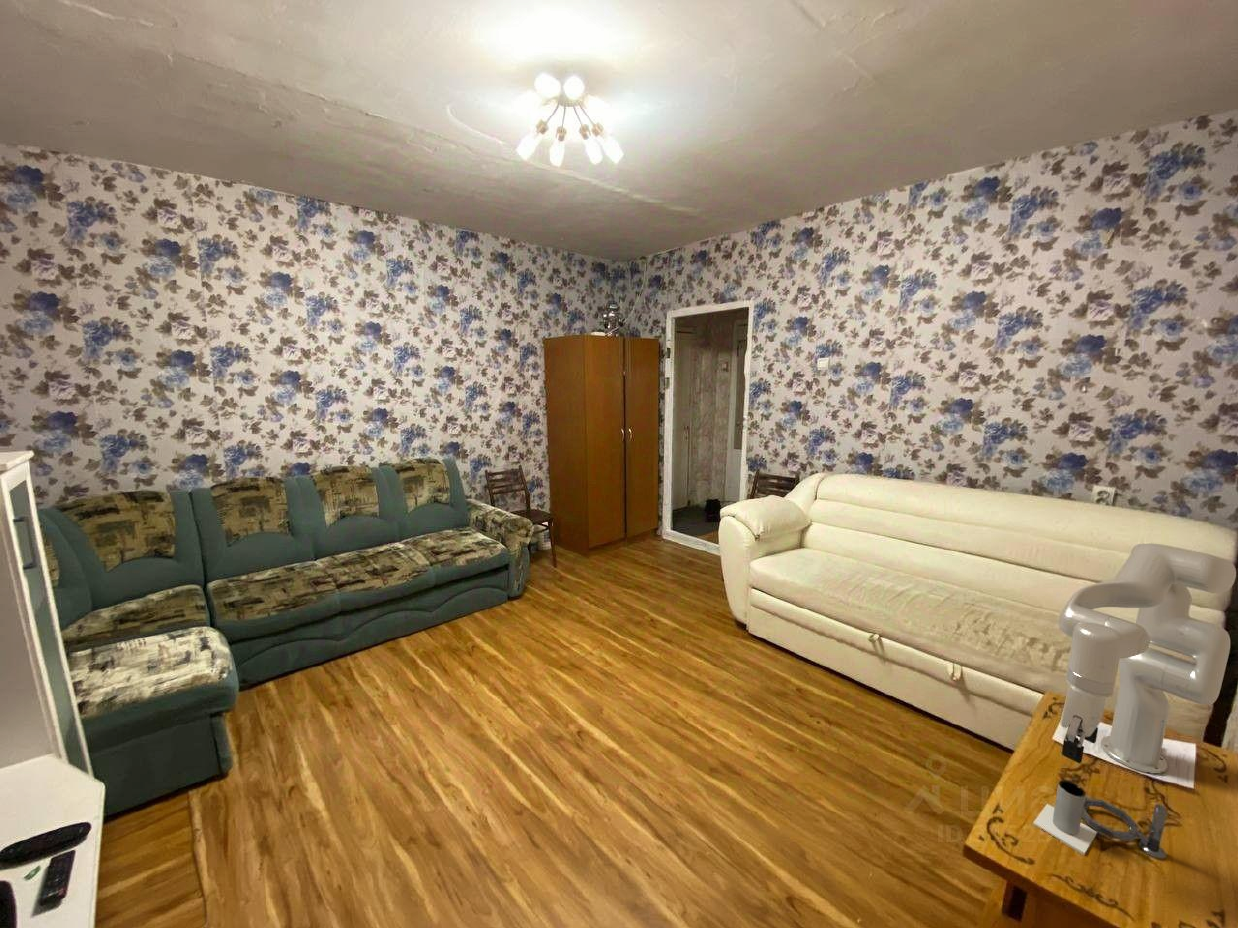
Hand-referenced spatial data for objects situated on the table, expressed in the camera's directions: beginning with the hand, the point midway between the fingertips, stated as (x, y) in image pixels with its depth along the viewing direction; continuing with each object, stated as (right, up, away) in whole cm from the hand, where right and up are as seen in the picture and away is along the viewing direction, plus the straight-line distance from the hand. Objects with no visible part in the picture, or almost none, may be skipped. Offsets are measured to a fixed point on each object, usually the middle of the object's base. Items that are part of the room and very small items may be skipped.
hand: (1078, 748), depth 110 cm
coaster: (0, -21, +4) cm, 21 cm away
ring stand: (+12, -21, +2) cm, 24 cm away
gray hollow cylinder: (0, -20, +4) cm, 21 cm away
